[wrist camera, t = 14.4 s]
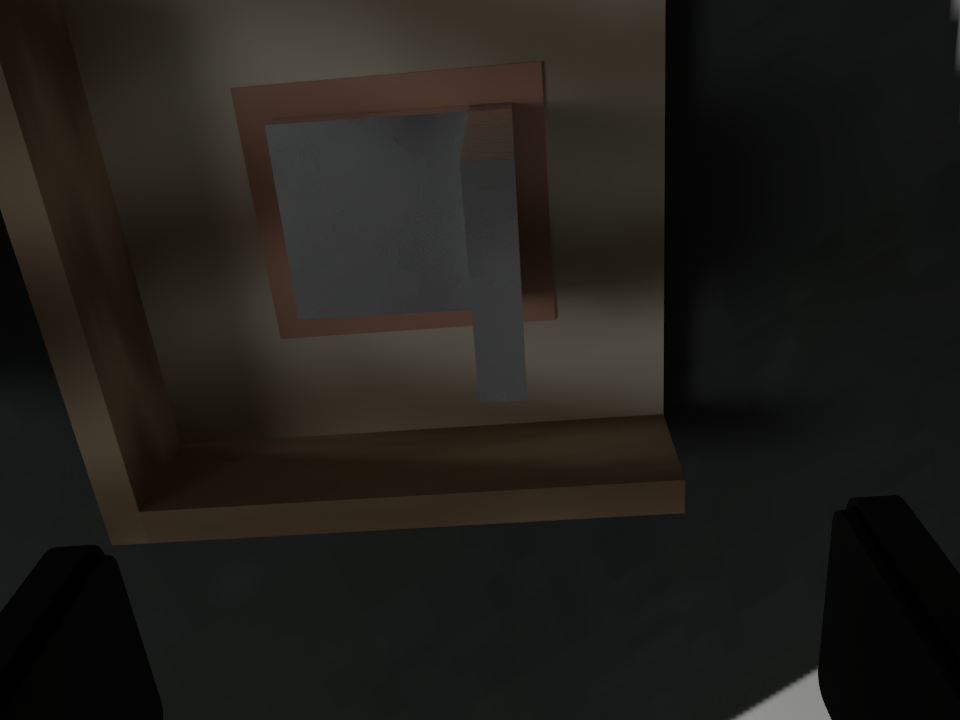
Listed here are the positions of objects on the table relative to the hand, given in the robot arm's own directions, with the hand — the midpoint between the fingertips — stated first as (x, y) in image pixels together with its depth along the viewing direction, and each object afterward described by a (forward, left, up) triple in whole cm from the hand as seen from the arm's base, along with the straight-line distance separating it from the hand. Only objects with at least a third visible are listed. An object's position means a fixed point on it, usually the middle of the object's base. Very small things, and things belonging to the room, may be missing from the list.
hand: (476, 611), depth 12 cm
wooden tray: (-1, +4, -18) cm, 19 cm away
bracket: (+1, +3, -17) cm, 18 cm away
